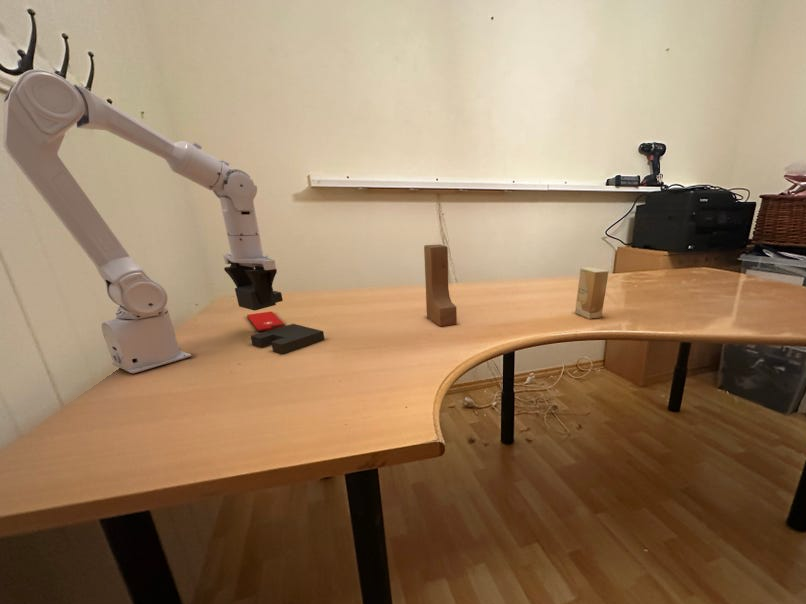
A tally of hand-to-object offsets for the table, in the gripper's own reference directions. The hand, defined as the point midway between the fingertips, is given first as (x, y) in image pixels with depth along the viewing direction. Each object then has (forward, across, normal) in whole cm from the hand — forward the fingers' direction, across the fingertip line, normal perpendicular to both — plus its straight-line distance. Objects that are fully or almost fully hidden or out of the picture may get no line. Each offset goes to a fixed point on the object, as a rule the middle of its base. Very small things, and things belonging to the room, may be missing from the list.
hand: (256, 300), depth 86 cm
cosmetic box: (+8, -58, -54) cm, 80 cm away
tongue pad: (+1, 0, -1) cm, 2 cm away
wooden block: (+8, -28, -30) cm, 41 cm away
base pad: (+8, -9, 0) cm, 12 cm away
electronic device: (+8, +8, -6) cm, 12 cm away
